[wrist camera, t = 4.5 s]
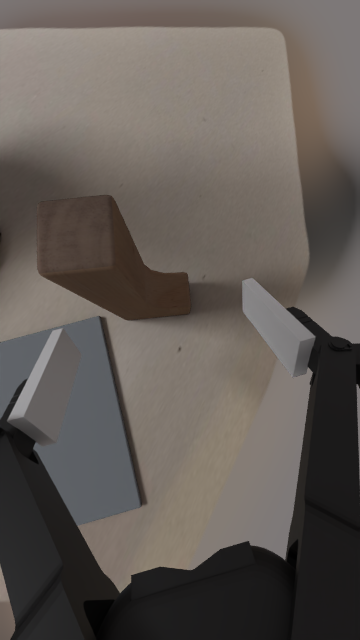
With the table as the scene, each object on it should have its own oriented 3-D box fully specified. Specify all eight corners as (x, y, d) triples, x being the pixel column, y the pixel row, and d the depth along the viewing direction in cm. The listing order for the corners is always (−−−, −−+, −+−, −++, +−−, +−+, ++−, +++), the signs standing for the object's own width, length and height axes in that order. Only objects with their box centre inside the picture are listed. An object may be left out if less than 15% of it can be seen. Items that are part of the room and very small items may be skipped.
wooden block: (186, 282, 30) (192, 182, 12) (190, 314, 29) (201, 257, 11) (123, 289, 30) (33, 198, 12) (125, 320, 29) (33, 275, 11)
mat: (-14, 347, 29) (-18, 347, 28) (100, 316, 29) (98, 316, 29) (13, 540, 26) (9, 545, 25) (141, 503, 26) (140, 507, 25)
